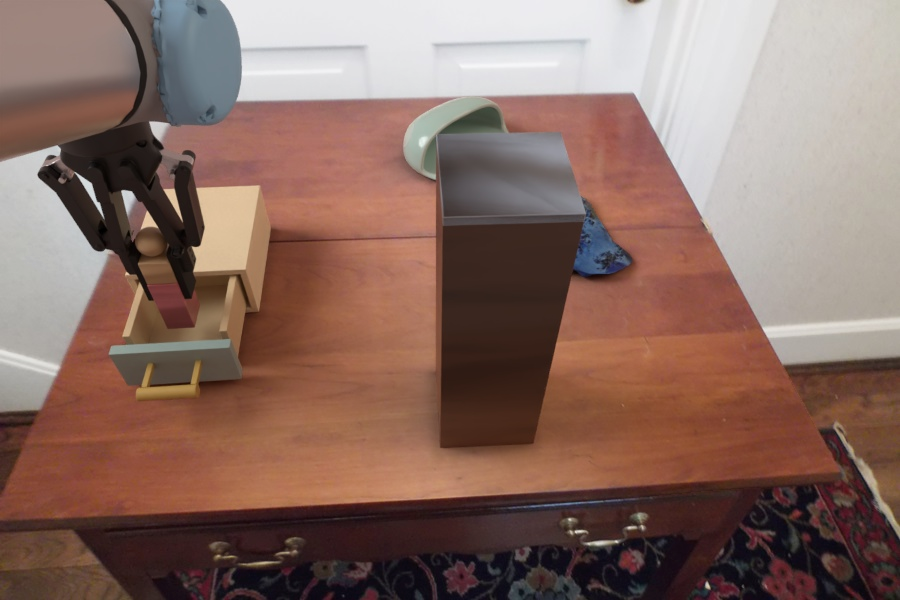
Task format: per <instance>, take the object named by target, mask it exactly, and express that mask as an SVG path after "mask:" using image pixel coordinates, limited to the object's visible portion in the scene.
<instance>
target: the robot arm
mask: <svg viewBox="0 0 900 600" xmlns="http://www.w3.org/2000/svg"><path fill="white" fill-rule="evenodd" d="M242 60H243V59H242V46H241V40H240V34H239V31H238V28H237V25H236V22H235V20H234V18H233V16H232V13H231V11H230V10H229V9H228V7H227V6H226V4H225V3H224V2H223V1H222V0H0V163H1V162H5V161H9V160H12V159H15V158H19V157H22V156H26V155H29V154H32V153H35V152H40V151H42V150H47V149H50V148H53V147H58V148H59V149H60V152H59V155H55V154H48V155H47V156H46V157H45V159H44V161H43V162H42V165H41V166H40V168H39V170H38V172H37V174H36V175H37V177H38V179H39V180H40V181H42V182H43V183H44V184H45V185H46V186H47V187H49V188H50V189H51V190H52V191H53V192H54V193H55V194H56V195H57V197H58V199H59V200H60V201H61V203H62V205H63V206H64V207H65V209H66V210H67V212H68V213H69V215H70V216H71V218H72V220H73V221H74V222H75V224H76V226H77V227H78V228H79V231H80V232H81V233H82V235H83V237H84V238H85V239H86V241H87V243H88V244H89V245H90V247H91V249H93V251H95V252H100V253H102V252H104V251H105V250H107V251H112V252H113V253H114V254H115V255H117V256H118V257H119V260H120V261H121V264H122V265H123V268H124V269H125V273H126V272H127V273H129V274H130V275H137V277H138V279H139V281H140V284H141V286H142V288H143V290H144V292H145V294H146V296H147V298H148V300H149V301H154V299H153V297H152V295H151V293H150V291H149V289H148V287H147V285H148V284H147V282H146V280H145V278H144V276H143V274H142V272H141V270H140V268H139V266H138V262H139V259H140V256H141V252H139V250H138V249H137V247H136V245H135V238H133V236H134V234H135V230H132V229H131V224H130V220H129V216H128V213H127V209H126V205H125V200H124V197H123V192H122V191H126V192H132V194H133V196H134V197H135V200H136V201H137V202H138V203H142V204H143V206H144V208H145V209H146V212H147V211H148V212H149V214H150V215H151V217H152V219H153V220H154V222H155V223H156V225H157V227H158V228H159V230H160V231H161V233H162V235H163V236H164V238H165V239H166V241H167V242H168V244H169V247H168V250H167V254H166V256H167V259H168V261H169V263H170V265H171V268H172V270H173V272H174V275H175V277H176V280H177V282H178V284H179V287H180V289H181V291H182V294H183V296H184V299H192V296H193V292H194V288H195V284H196V279H195V276H194V274H193V271H194V267H195V263H196V256H195V254H194V251H193V248H192V247H199V246H200V245H201V242H202V238H203V234H204V230H205V225H204V221H203V216H202V212H201V207H200V203H199V198H198V194H197V190H196V188H197V186H196V181H195V176H194V173H193V172H194V167H195V162H196V158H197V156H196V154H195V152H194V151H193V150H190V149H185V150H183V151H182V152H181V153H178V152H175V151H172V150H169V149H166V148H165V147H164V145H163V143H162V142H161V141H160V140H159V139H158V138H157V137H156V136H155V134H154V133H153V131H152V127H151V123H150V122H152V123H155V122H156V123H163V124H169V125H170V126H171V127H176V128H179V127H182V126H201V127H207V126H215V125H217V124H219V123H221V122H223V121H224V120H225V119H226V118H227V117H228V116H229V114H231V112H232V111H233V109H234V107H235V105H236V102H237V100H238V97H239V95H240V90H241V84H242V78H243V77H242V76H243V75H242V74H243V73H242V72H243V65H242V64H243V63H242V62H243V61H242ZM160 165H163V166H164V167H165V168H166V173H167V174H168V177H169V178H170V179H171V180H174V181H173V189H175V193H176V197H177V201H178V205H179V209H180V213H181V217H182V220H181V219H180V217H179V215H178V213H177V212H176V210H175V208H174V207H173V205H172V203H171V202H170V200H169V198H168V196H167V195H166V193H165V191H164V190H163V189H164V188H163V186H162V184H161V181H160V180H161V178H160V175H159V174H158V172H157V171H158V169H159V167H160ZM79 176H80V177H81V178H83V179H84V180H85V181H87V182H89V183H90V184H91V186H92V190H93V193H94V196H95V199H96V202H97V203H99V205H100V209H101V211H100V209H98V206H97V205H96V203H95V201H94V200H93V198H92V197H91V195H90V194H89V192H88V190H87V189H86V187H85V185H84V184H83V182H82V181H81V179H80V177H79ZM101 212H102V213H101ZM182 221H183V222H182ZM132 238H133V240H132Z"/></svg>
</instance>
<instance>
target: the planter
mask: <svg viewBox="0 0 900 600" xmlns="http://www.w3.org/2000/svg"><path fill="white" fill-rule="evenodd" d="M481 133H510V131H509V130H508V128H507V125H506V120H505V116H504V112H503V110H502V108H501V107H500V106H499V105H498V103H496V102H494V101H493V100H490V99H488V98H485V97H481V96H471V95H469V96H462V97H457V98H454V99H450V100H447V101H445V102H443V103H440V104H438V105H436V106H434V107H432V108H430V109H428V110H426V111H424V112H423V113H421V114H420V115H419V116H417V117H416V118H415V119H413V121H411V123H410V124H409V125H408V127H407V129H406V131H405V133H404V136H403V143H402V151H403V156H404V158H405V161H406V163H407V164H408V166H409V167H410V168H411V169H413V171H415V172H416V173H418V174H419V175H421V176H423V177H425V178H427V179H430V180H433V181H436V134H481Z"/></svg>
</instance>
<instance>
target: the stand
mask: <svg viewBox="0 0 900 600" xmlns="http://www.w3.org/2000/svg"><path fill="white" fill-rule="evenodd" d="M581 196H582V195H581V192H580V190H579V185H578V183H577V179H576V177H575V173H574V170H573V167H572V163H571V161H570V157H569V154H568V151H567V147H566V144H565V141H564V138H563V135H562V132H561V131H541V132H540V131H539V132H535V131H533V132H531V131H530V132H509V133H481V134H436V180H435V382H436V400H437V402H436V403H437V416H438V417H437V418H438V435H439V448H440V449H441V448H463V447H481V446H482V447H484V446H485V447H486V446H487V447H488V446H503V445H504V446H505V445H526V444H528V445H529V444H534V443H535V440H536V439H535V438H536V434H537V429H538V426H539V422H540V417H541V413H542V408H543V404H544V399H545V395H546V390H547V386H548V383H549V382H548V381H549V378H550V372H551V368H552V364H553V360H554V355H555V351H556V346H557V342H558V337H559V334H560V330H561V325H562V322H563V321H562V320H563V317H564V312H565V306H566V303H567V299H568V294H569V290H570V285H571V281H572V277H573V272H574V270H573V268H574V264H575V259H576V255H577V250H578V246H579V242H580V237H581V233H582V229H583V224H584V220H585V216H586V212H585V209H584V206H583V202H582V199H581Z"/></svg>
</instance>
